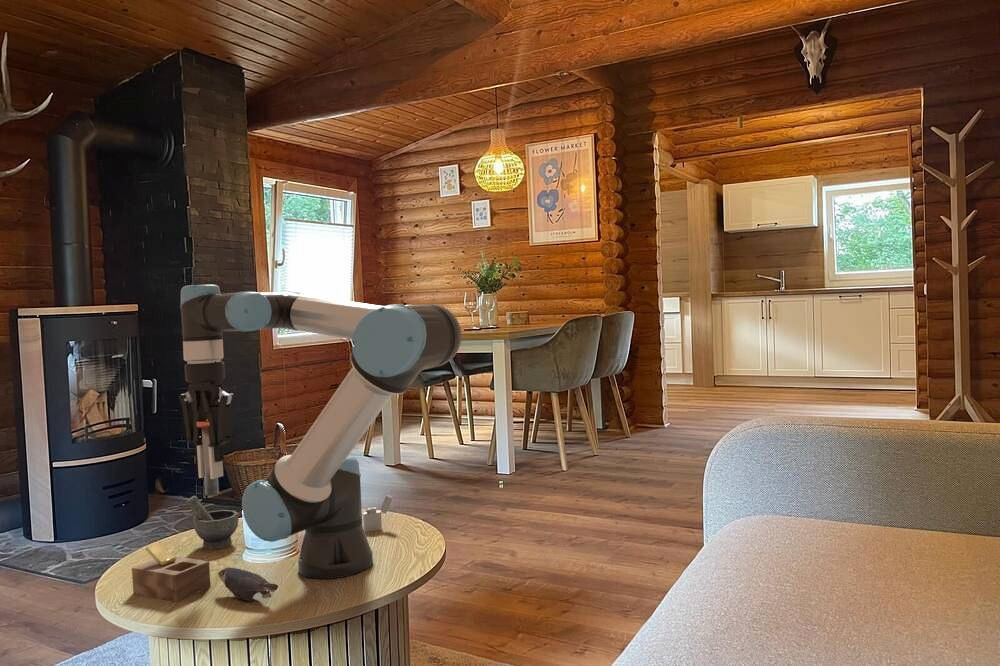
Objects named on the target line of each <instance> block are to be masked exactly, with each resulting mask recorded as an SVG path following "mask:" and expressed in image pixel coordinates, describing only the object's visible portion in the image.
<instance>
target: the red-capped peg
mask: <svg viewBox="0 0 1000 666" xmlns="http://www.w3.org/2000/svg"><path fill="white" fill-rule="evenodd" d="M196 427H201V432H202V448H203V465H204V477H203V478H204V493H205V494H204V495H205V496H207V497H208V496H216V495H218V494H220V491H219V490H220V489H219V477H218V478H215V479H210V465H209V448H208V447H209V445H208V444H211V438H210V431H209V427H210V422H208V419H207V420H202V421H196Z"/></svg>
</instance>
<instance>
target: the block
mask: <svg viewBox="0 0 1000 666" xmlns="http://www.w3.org/2000/svg"><path fill="white" fill-rule="evenodd" d="M172 556H173V557H175V558H176V561H174V562H172V563H169V564H167V565H164V566H162V567H160V566H159V564H158V563H157V562H156V561H155V560H154V559H151V560H149V561H147V562H144V563H141V564H139V565H135V566H132V567H131V576H132V577H131V578H132V592H133V594H134V593H137V594H136V595H139V594H141V595H140V596H146V597H151V598H155V599H160V600H165V601H171V602H180V601H182V600H185V598H186V599H187V598H188V597H191V596H193V595H195V594H197V593H200V592H202V591H204V590H207V589H208V588H210V587H211V573H210V570H211V569H210V561H207V560H201V559H195V558H188V557H180V556H175V555H172Z"/></svg>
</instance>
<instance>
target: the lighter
mask: <svg viewBox="0 0 1000 666" xmlns="http://www.w3.org/2000/svg"><path fill="white" fill-rule="evenodd" d="M393 498H394V497H393V496H392V495H389V494H386V495H385V497H384V499H383V503H382V505H381V507H380V509H379V510H377V508H376V507H368V508H367V509H366V510H365V512H363V513H362V523H363V529H364V532H365V533H367V532H376V531H382V530H383V525H382V514H385V515H387V512H388V510H389V509H390V508H389V507H390V506H391V503H392V500H393Z"/></svg>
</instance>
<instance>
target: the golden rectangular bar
mask: <svg viewBox="0 0 1000 666" xmlns="http://www.w3.org/2000/svg"><path fill="white" fill-rule="evenodd" d="M145 551H146V552H147V553H148V554H149V555H150V557H151V558H152V559H153V560H155V561H156V562H157V563H158V564H159V566H160V567H162V566H164V565H167V564H169V563H172V562H174V561H176V558H175V557H173V556H174V555H173V554H172V553H171V552H170V551H169V550H168V549H167V548H166V547H165V546H164V545H163V544H162V542H161V541H159V542H156V543H153V544H150V545H147V546H146V548H145Z"/></svg>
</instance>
